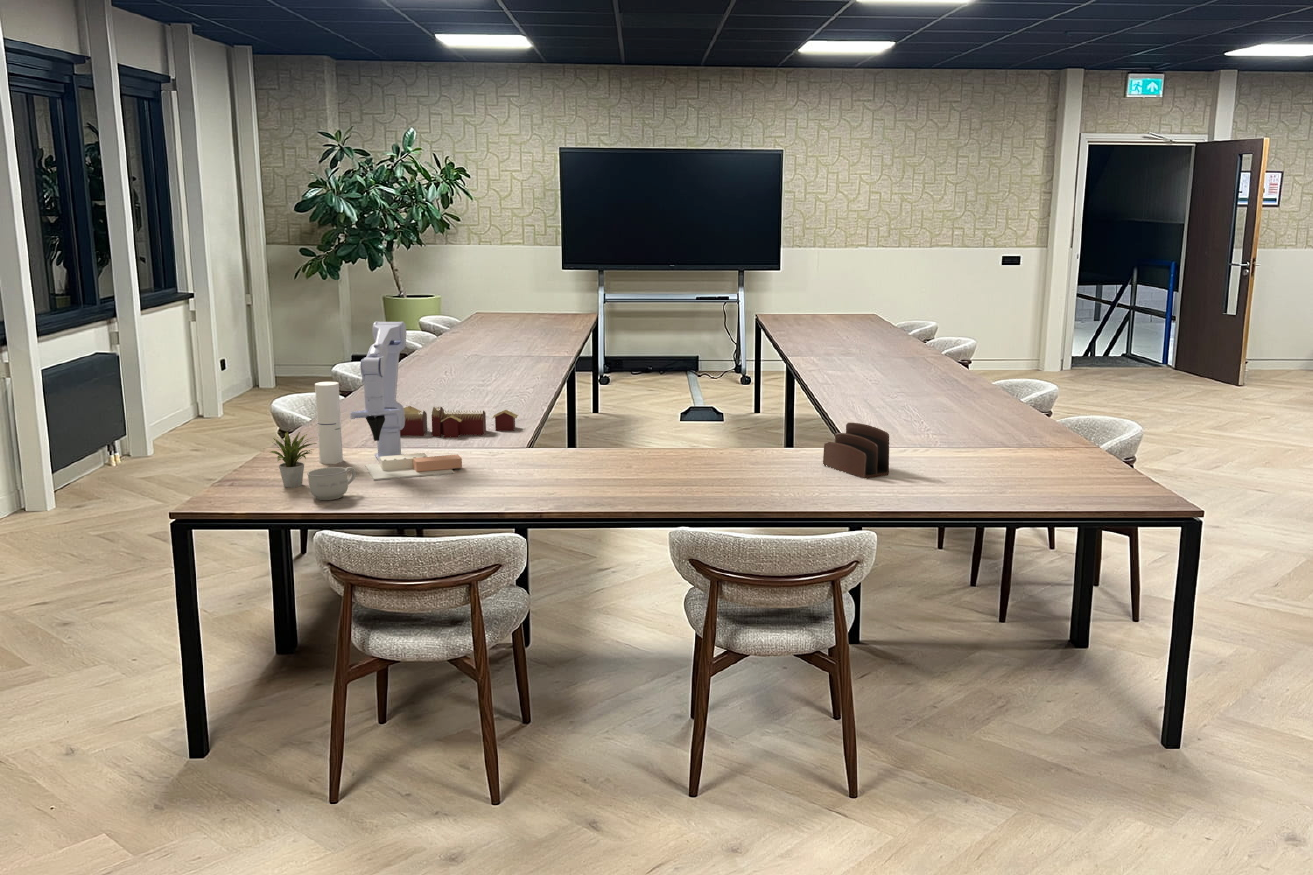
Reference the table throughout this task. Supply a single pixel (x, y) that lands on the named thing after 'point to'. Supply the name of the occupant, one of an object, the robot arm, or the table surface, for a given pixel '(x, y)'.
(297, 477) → the house plant
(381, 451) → the robot arm
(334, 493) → the teacup
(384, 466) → the ticket book
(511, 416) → the toy houses
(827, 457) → the letter holder
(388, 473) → the mat
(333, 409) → the cylindrical container
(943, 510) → the table surface
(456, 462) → the stub
